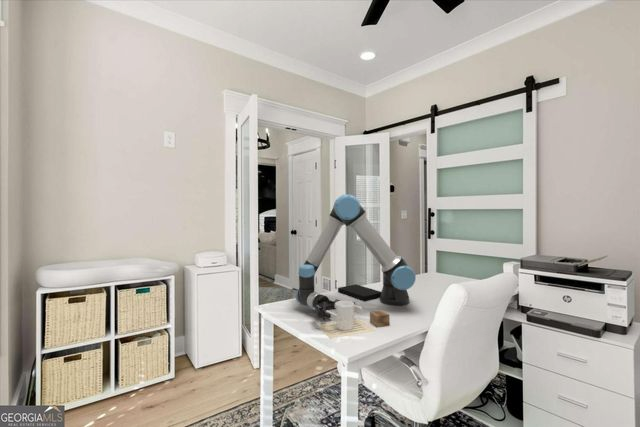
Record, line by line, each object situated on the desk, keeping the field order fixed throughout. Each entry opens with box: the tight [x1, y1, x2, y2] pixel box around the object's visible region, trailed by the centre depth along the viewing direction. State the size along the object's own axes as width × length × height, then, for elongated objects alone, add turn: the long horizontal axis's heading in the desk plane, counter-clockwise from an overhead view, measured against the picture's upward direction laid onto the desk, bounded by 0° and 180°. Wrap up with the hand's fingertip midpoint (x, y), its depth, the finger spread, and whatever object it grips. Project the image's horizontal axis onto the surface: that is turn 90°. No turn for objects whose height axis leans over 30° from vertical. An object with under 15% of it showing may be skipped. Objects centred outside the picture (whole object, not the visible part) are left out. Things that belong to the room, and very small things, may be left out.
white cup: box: [335, 300, 355, 330], centre depth 129 cm, size 8×8×10 cm
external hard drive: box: [337, 283, 381, 303], centre depth 178 cm, size 14×23×3 cm, turn 34°
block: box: [369, 309, 391, 328], centre depth 132 cm, size 6×6×5 cm
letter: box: [316, 318, 377, 339], centre depth 129 cm, size 20×15×1 cm
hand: (349, 314), depth 127 cm, fingers open, 13 cm apart
